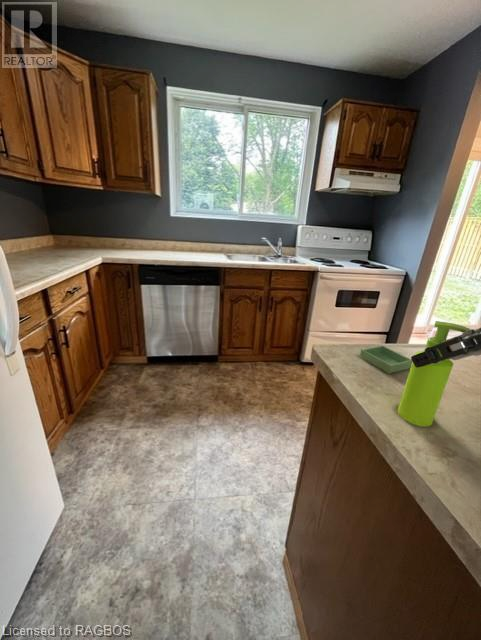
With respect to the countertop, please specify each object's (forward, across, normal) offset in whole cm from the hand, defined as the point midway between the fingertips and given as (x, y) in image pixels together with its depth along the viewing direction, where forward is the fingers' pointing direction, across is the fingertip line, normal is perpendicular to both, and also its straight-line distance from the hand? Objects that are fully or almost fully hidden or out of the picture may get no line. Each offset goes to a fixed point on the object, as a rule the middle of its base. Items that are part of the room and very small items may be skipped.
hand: (427, 358), depth 51 cm
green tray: (+21, -13, -3) cm, 25 cm away
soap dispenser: (+8, 0, +10) cm, 13 cm away
